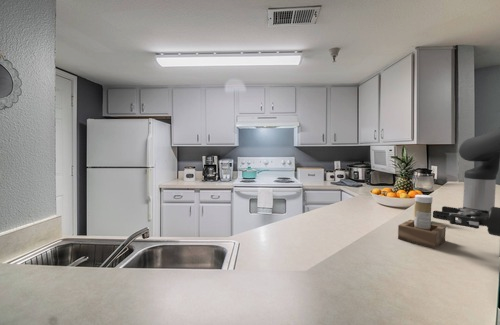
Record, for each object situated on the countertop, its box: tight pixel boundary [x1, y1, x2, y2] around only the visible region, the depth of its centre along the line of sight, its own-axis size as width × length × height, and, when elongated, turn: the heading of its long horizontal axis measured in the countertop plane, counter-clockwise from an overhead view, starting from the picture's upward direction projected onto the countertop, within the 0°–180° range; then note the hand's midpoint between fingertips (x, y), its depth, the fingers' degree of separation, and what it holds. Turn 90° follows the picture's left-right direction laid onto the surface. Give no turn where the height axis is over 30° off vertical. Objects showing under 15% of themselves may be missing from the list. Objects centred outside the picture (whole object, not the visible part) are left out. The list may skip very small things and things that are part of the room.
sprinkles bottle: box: [413, 194, 433, 231], centre depth 78 cm, size 5×5×14 cm
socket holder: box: [397, 219, 446, 249], centre depth 79 cm, size 10×10×4 cm
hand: (437, 211), depth 75 cm, fingers open, 8 cm apart
